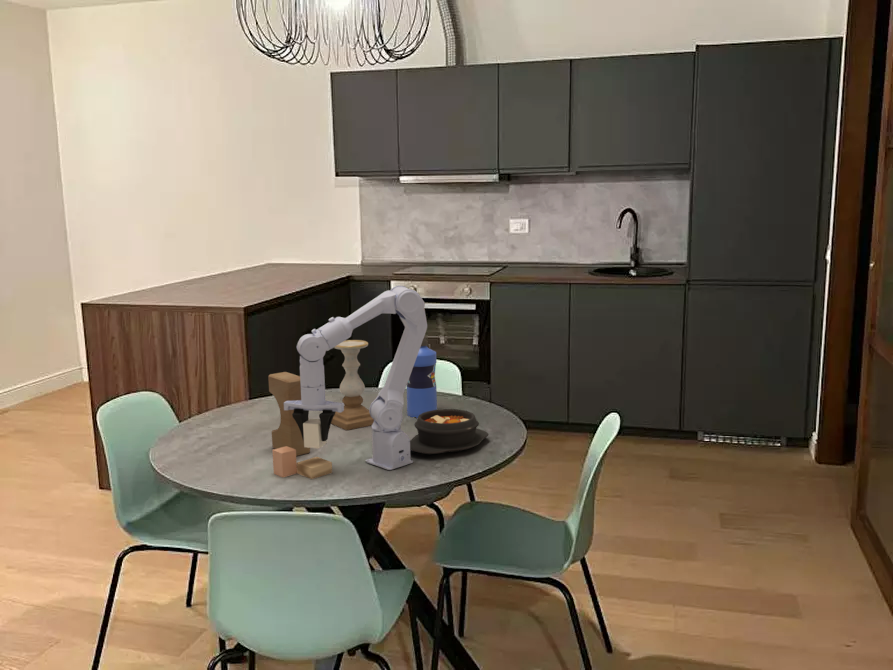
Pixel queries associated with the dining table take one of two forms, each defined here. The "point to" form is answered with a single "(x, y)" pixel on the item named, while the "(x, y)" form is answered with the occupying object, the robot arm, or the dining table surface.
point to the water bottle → (422, 383)
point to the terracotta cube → (284, 461)
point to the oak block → (314, 467)
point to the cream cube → (313, 434)
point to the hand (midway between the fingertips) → (315, 439)
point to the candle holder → (352, 389)
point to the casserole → (446, 432)
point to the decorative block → (287, 412)
